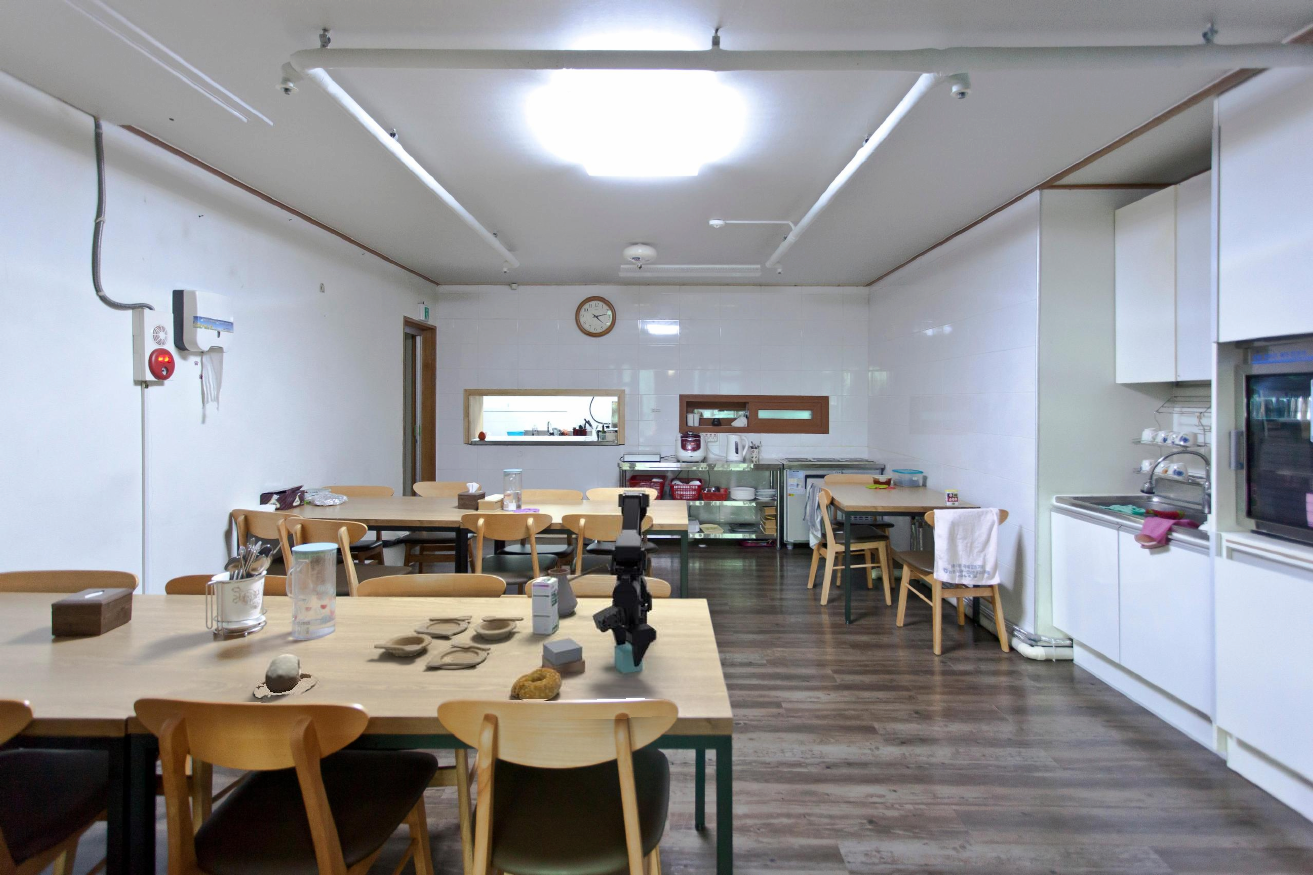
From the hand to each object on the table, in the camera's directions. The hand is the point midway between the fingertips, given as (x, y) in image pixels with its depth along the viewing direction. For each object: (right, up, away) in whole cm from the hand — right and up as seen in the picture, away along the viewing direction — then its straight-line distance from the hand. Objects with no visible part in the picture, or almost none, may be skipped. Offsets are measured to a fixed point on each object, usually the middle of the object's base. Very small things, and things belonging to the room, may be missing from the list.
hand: (628, 659), depth 151 cm
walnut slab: (-16, -2, 0) cm, 16 cm away
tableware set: (-47, -2, +16) cm, 50 cm away
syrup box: (-24, -1, +26) cm, 36 cm away
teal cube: (0, -2, 0) cm, 2 cm away
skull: (-76, -3, -11) cm, 76 cm away
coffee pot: (-18, -1, +42) cm, 46 cm away
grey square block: (-16, +1, 0) cm, 16 cm away
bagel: (-19, -3, -14) cm, 24 cm away
